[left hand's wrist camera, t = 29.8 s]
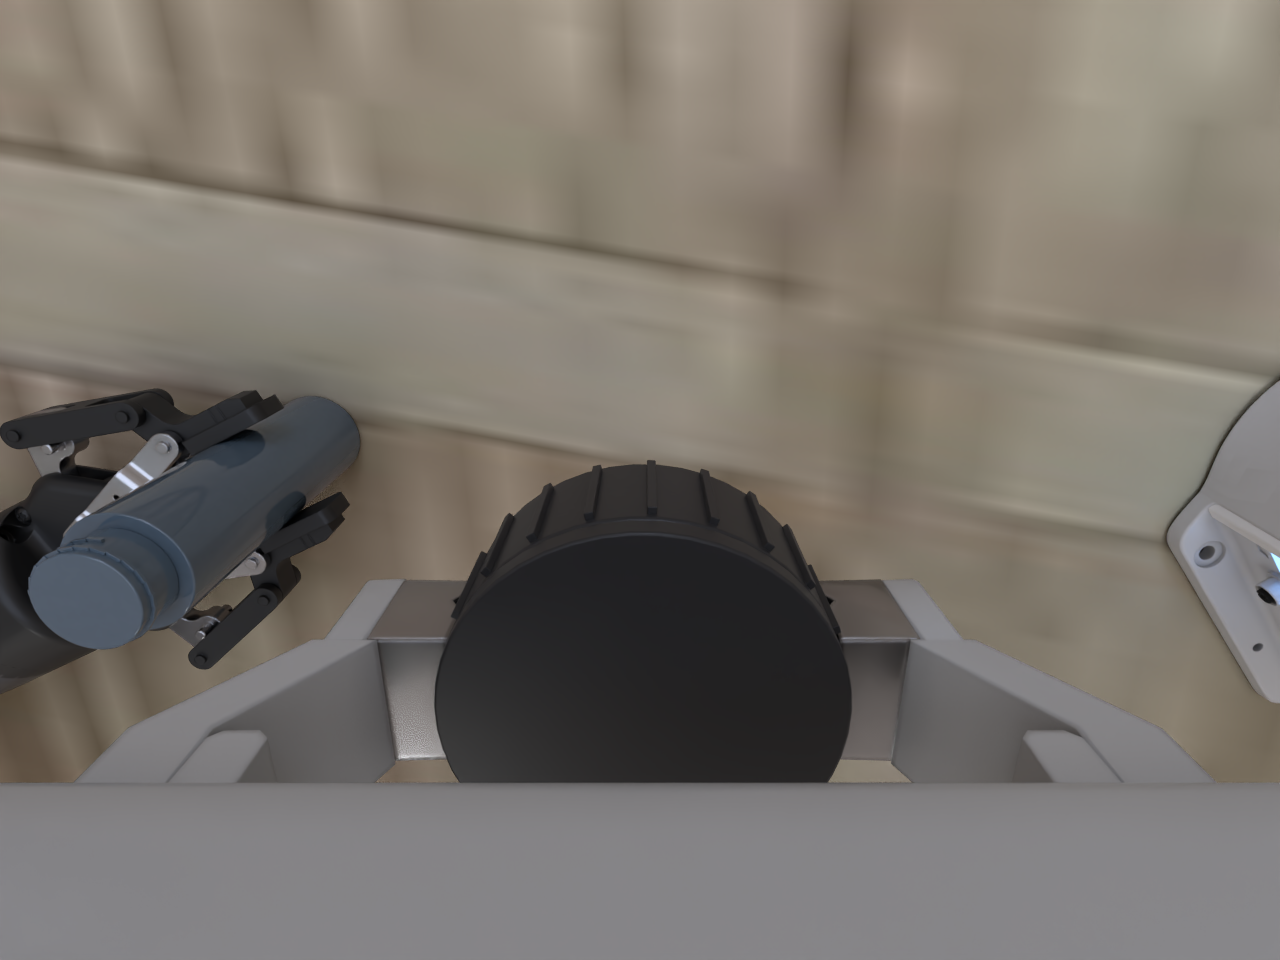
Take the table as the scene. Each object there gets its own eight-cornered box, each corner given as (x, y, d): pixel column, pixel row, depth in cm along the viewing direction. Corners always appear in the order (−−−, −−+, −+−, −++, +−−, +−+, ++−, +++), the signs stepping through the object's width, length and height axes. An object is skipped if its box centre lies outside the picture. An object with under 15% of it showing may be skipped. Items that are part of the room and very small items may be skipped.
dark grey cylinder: (357, 399, 37) (146, 544, 21) (362, 478, 39) (170, 668, 23) (271, 392, 37) (-6, 533, 21) (280, 472, 38) (28, 658, 23)
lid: (556, 393, 9) (530, 447, 7) (886, 554, 10) (947, 643, 8) (419, 681, 11) (367, 792, 9) (711, 799, 11) (725, 925, 9)
